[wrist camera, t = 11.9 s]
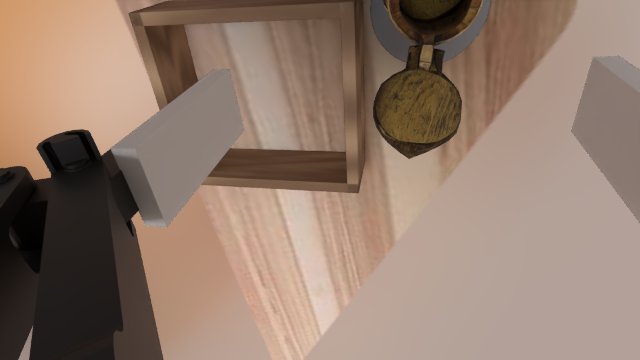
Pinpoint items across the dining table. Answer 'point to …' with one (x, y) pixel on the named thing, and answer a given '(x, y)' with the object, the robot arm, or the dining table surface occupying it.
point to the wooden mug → (422, 76)
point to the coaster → (400, 44)
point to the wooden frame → (254, 164)
